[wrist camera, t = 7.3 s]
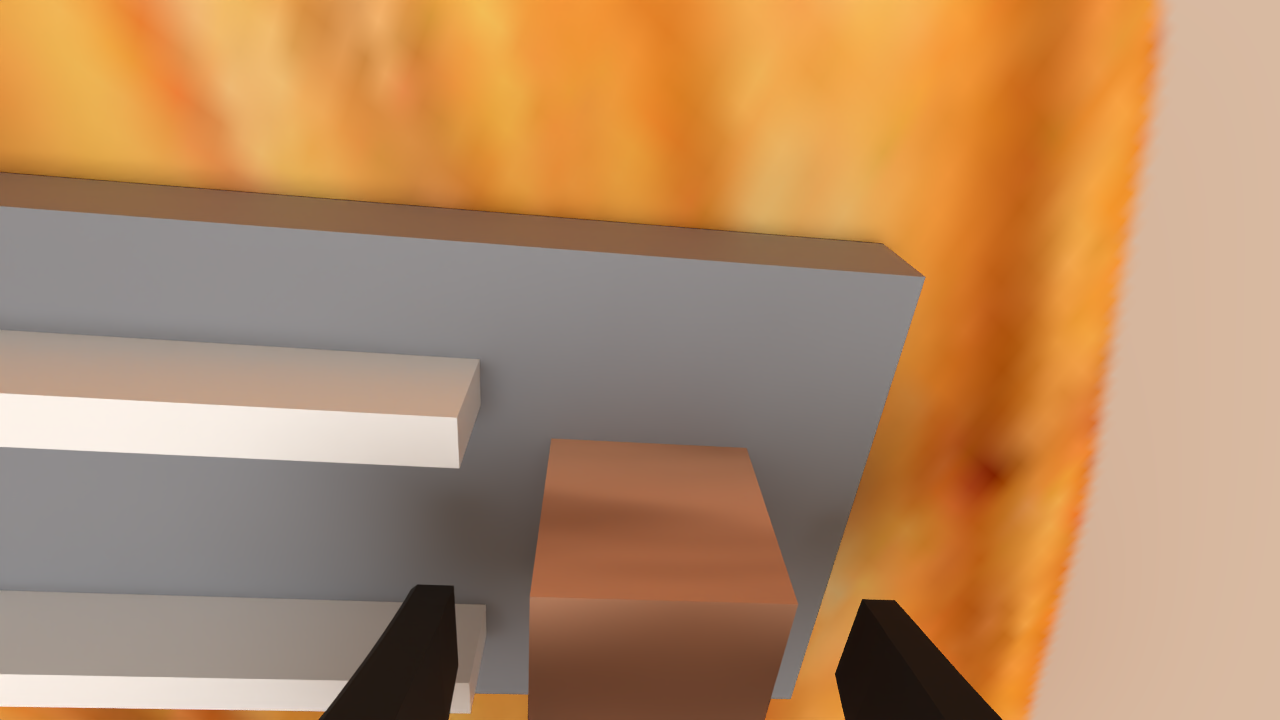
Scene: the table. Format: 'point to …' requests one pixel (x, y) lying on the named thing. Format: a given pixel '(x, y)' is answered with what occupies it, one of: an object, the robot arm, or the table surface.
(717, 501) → the block
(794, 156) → the table surface
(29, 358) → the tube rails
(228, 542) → the trap deck
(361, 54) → the table surface
